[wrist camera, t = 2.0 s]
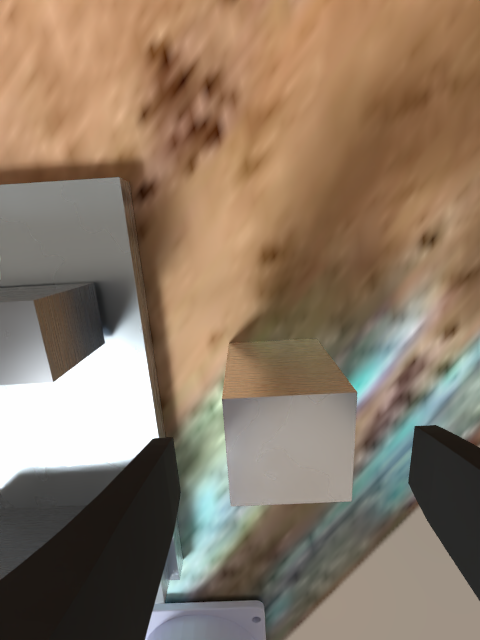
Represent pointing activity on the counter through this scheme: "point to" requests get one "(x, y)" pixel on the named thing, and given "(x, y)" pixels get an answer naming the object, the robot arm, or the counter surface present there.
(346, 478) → the aluminium block
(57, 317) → the block
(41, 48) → the counter surface
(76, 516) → the robot arm
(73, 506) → the base
